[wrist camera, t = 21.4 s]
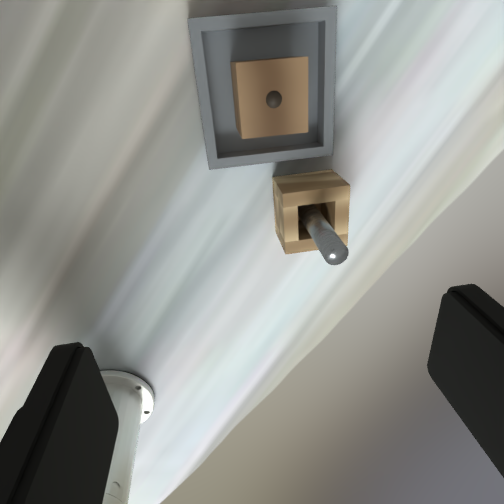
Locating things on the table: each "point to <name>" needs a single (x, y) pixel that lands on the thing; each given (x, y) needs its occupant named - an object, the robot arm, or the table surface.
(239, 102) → the walnut block
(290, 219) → the oak block
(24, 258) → the table surface
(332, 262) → the cylinder
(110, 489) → the robot arm
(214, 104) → the tray
